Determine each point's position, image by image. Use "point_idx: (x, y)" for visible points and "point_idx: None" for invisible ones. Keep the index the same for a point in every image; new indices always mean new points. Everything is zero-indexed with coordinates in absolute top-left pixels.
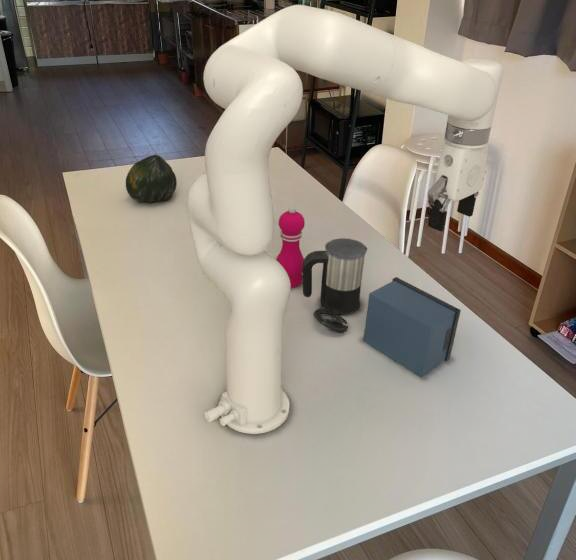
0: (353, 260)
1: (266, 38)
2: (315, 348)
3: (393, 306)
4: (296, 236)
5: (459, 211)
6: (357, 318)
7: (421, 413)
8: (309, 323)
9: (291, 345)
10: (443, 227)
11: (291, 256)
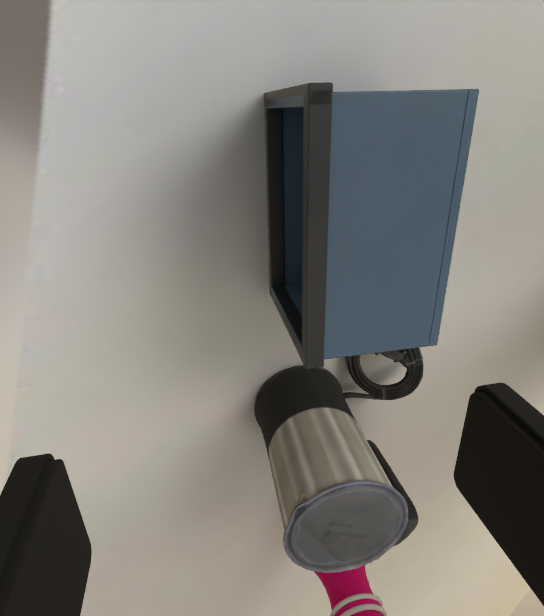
0: (369, 477)
1: None
2: (452, 315)
3: (450, 257)
4: (368, 607)
5: (84, 545)
6: None
7: (488, 3)
8: (397, 381)
9: (473, 346)
10: (511, 399)
11: None
